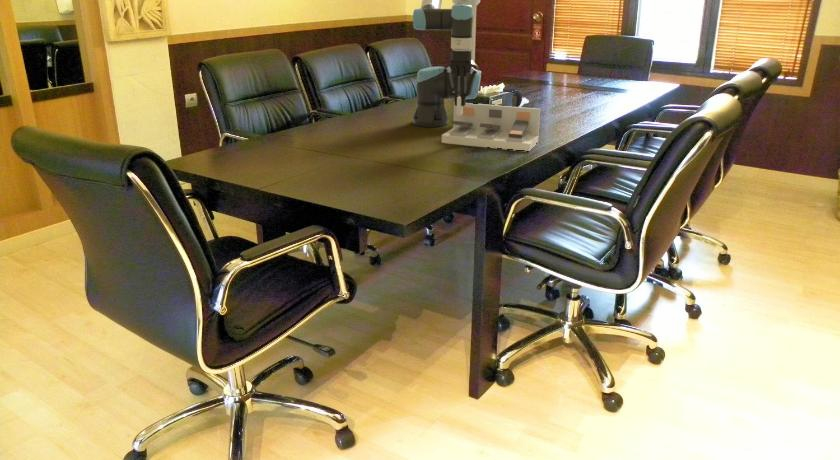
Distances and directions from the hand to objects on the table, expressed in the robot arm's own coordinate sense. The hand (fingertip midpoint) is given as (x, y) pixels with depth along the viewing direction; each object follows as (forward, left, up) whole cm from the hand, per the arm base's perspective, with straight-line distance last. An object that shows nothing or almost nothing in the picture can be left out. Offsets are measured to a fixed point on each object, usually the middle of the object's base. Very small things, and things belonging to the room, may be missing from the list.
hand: (459, 114), depth 241 cm
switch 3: (+22, +4, -4) cm, 23 cm away
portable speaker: (-3, +63, -11) cm, 64 cm away
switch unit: (+11, +4, -11) cm, 16 cm away
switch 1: (0, +4, -4) cm, 6 cm away
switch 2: (+11, +4, -4) cm, 12 cm away
